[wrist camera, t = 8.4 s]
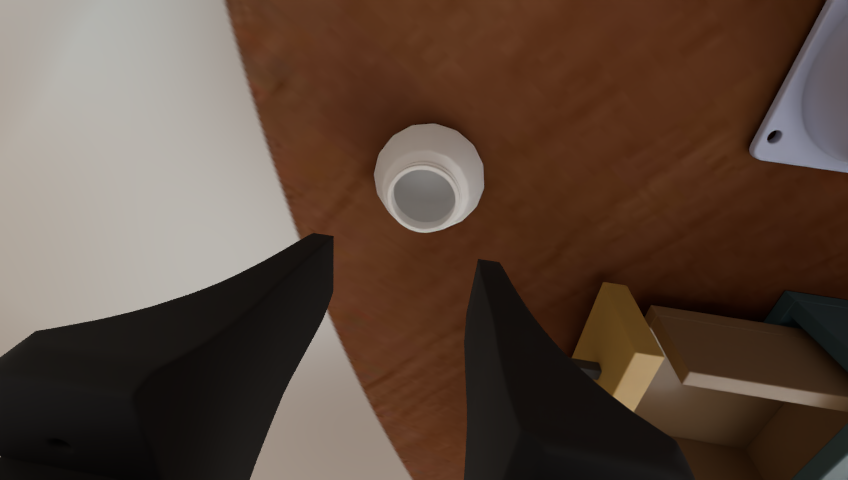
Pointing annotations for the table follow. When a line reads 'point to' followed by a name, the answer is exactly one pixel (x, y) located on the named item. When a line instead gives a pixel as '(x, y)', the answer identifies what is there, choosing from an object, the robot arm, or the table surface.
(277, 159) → the table surface
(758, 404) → the drawer
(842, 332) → the cabinet
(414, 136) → the lidless jar
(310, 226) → the table surface
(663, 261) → the table surface
